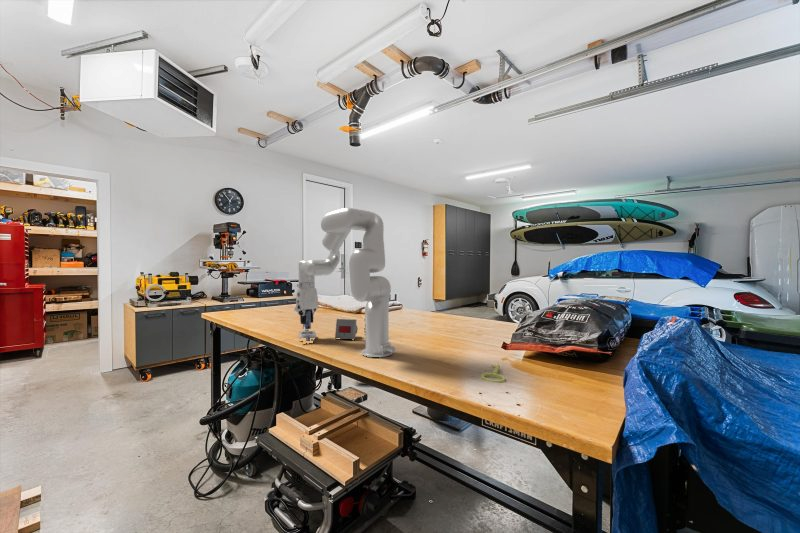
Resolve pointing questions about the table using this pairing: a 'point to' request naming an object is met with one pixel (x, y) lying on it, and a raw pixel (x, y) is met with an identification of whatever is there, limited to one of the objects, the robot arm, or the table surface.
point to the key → (493, 375)
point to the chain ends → (307, 335)
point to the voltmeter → (346, 328)
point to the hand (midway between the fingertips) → (306, 322)
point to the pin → (307, 319)
